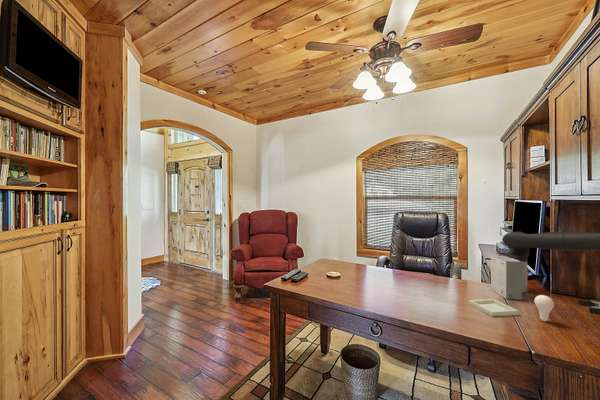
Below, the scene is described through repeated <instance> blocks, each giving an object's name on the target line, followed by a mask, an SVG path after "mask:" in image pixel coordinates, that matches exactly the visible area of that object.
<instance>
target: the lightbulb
mask: <svg viewBox="0 0 600 400" xmlns="http://www.w3.org/2000/svg"><path fill="white" fill-rule="evenodd" d="M534 304H535V306H536V307H537V310H538V314H539V319H540V320H541V321H543V322H548V321H549V316H550V312H551V311H552V309H553V308H554V307H555V302H554V301H553V299H552V298H551V297H549V296H548V295H546V294H545V295H544V294H539V295H536V296H535V298H534Z"/></svg>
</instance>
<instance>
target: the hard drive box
mask: <svg viewBox="0 0 600 400" xmlns="http://www.w3.org/2000/svg"><path fill="white" fill-rule="evenodd" d="M490 290H492V291H493V292H494V293H497V294H498V295H499V296H501V297H503V299H507V300H518V301H523V293H522V262H521V261H518V260H515V259H513V258H510V257H507V256H506V255H495V254H493V255H490Z"/></svg>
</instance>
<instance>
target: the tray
mask: <svg viewBox="0 0 600 400" xmlns="http://www.w3.org/2000/svg"><path fill="white" fill-rule="evenodd" d="M468 305H469V306H471V307H473V308H475V309H477V310H478V311H480V312H482V313H484V314H486V315H487V316H490V317H492V318H495V317H511V316H512V317H513V316H519V315H520V310H518V309H516V308H514V307H512V306H510V305H507V304H505V303H503V302H501V301H499V300H497V299H494V298H488V299H487V298H485V299H472V300H471V299H470V300H469V299H468Z"/></svg>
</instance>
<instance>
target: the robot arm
mask: <svg viewBox="0 0 600 400" xmlns="http://www.w3.org/2000/svg"><path fill="white" fill-rule="evenodd" d="M501 240H502V244H504V245H505V246H506V247H507V248H509V250H508V252H507V253H506V254H505V256H507V257H510V258H513V259H515V260H518V261H521V262H522V294H523V293H528V258H529V256H530V249H533V248H534V249H543V250H553V251H571V252H572V251H578V252H579V251H580V252H581V251H592V250H597V251H598V250H599V251H600V232H583V231H549V232H538V233H525V232H522V231H511V232H508V233H506V234H504V236H503V237H502V239H501ZM577 305H578V306H582V307H588V313H589V314H590V315H591V314H593V315H599V316H600V300H599V299H593V298H592V299H591V298H590V299H589V300H586V299H585V300H584V299H578V300H577Z"/></svg>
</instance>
